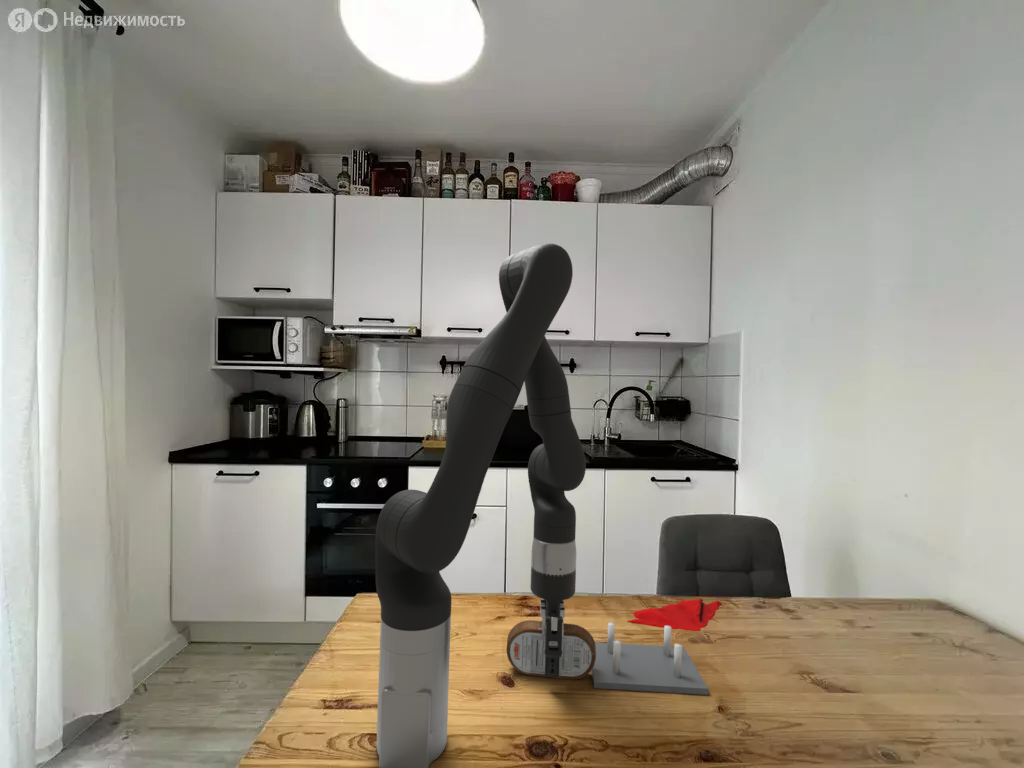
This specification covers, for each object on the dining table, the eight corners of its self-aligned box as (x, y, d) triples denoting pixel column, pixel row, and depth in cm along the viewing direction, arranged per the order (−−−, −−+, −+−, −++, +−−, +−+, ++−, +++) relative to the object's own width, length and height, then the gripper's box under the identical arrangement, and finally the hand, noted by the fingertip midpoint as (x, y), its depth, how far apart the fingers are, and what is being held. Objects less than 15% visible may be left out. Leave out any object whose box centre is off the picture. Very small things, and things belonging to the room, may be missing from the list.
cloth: (636, 639, 93) (636, 627, 93) (609, 606, 106) (609, 596, 106) (754, 631, 98) (754, 620, 98) (714, 600, 111) (714, 591, 111)
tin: (594, 673, 80) (596, 623, 80) (596, 684, 77) (597, 633, 77) (506, 665, 82) (508, 616, 82) (504, 676, 79) (506, 625, 79)
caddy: (708, 695, 75) (709, 657, 75) (594, 688, 76) (595, 650, 76) (684, 652, 87) (685, 620, 87) (586, 647, 88) (587, 614, 88)
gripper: (580, 582, 72) (577, 689, 72) (572, 550, 87) (569, 639, 87) (531, 580, 73) (528, 686, 73) (531, 548, 87) (528, 636, 87)
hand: (550, 660), depth 80 cm, fingers open, 8 cm apart
